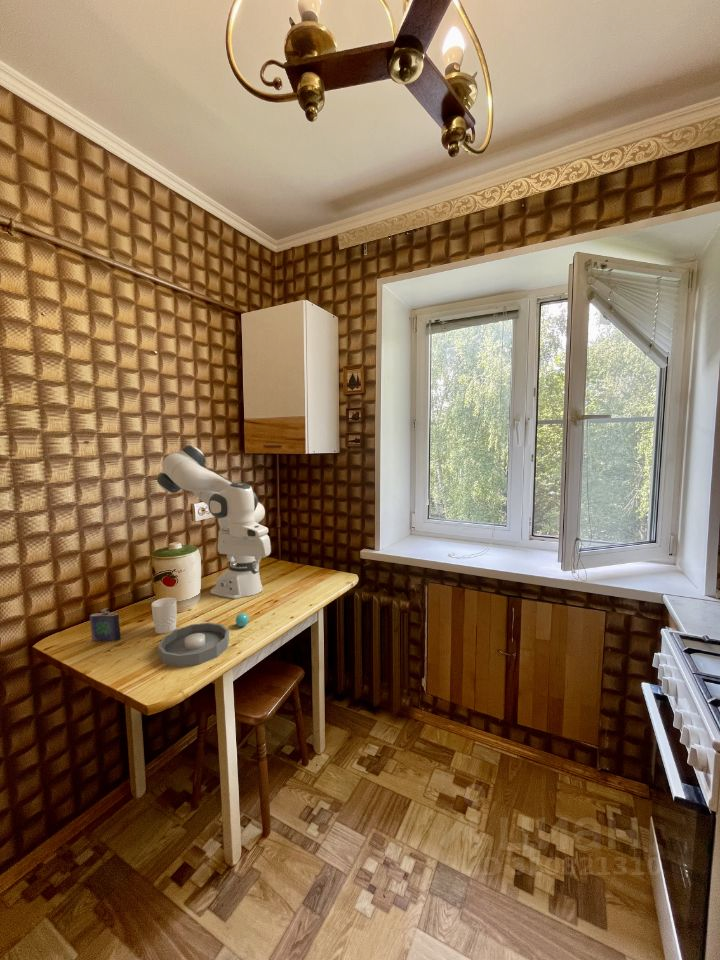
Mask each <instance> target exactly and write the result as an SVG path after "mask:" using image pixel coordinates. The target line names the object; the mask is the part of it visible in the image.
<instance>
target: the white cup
mask: <svg viewBox="0 0 720 960" xmlns="http://www.w3.org/2000/svg"><path fill="white" fill-rule="evenodd" d="M177 604H178V602H177V598H175V597H163V598H162V597H161V598H159V599H156V600H154V601H152V603H151V613H152V621H153V625H154V632H155V633H156V634H160V635H163V634H169V633H171V632H173V631H174V630H177V616H178V615H177V613H178V609H177V606H178V605H177Z"/></svg>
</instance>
